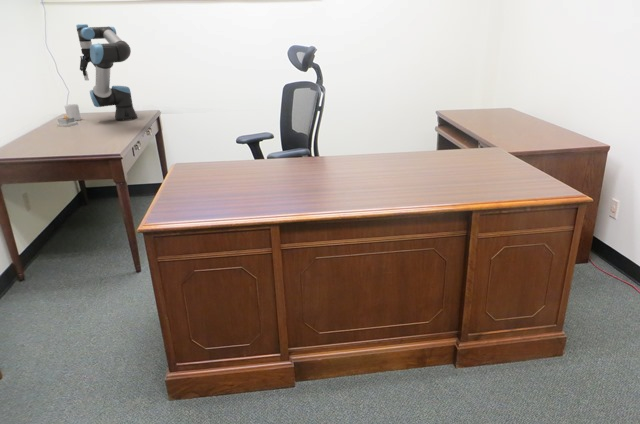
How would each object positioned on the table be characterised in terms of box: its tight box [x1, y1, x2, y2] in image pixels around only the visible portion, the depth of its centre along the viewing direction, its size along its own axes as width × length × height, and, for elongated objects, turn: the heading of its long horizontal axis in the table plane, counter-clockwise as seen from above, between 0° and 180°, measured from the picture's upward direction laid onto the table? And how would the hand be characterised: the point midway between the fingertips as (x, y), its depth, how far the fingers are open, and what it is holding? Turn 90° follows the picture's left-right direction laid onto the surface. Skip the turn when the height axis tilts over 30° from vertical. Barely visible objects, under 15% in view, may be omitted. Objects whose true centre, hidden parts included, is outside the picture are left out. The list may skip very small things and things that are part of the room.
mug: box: [64, 103, 82, 122], centre depth 336 cm, size 9×12×11 cm
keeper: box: [56, 114, 79, 128], centre depth 320 cm, size 9×9×6 cm
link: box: [57, 117, 76, 124], centre depth 320 cm, size 7×7×3 cm
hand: (93, 79), depth 333 cm, fingers open, 13 cm apart
